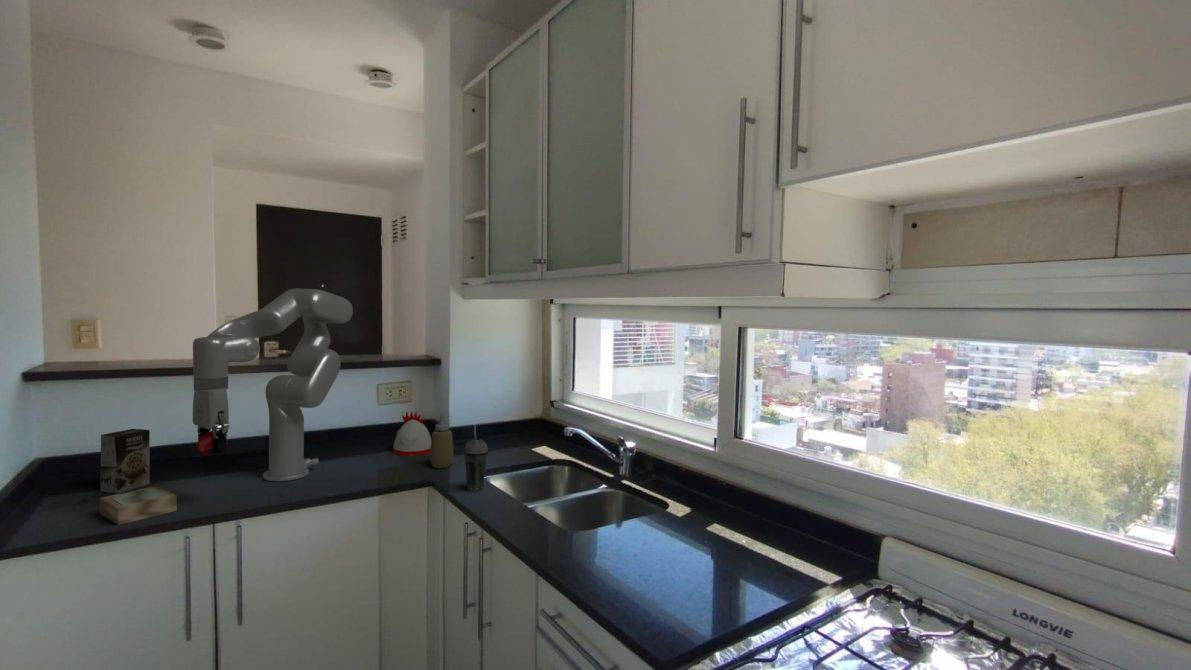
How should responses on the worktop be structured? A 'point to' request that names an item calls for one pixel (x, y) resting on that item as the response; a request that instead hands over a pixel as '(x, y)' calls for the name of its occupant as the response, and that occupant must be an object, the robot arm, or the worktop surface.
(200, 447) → the red bell pepper
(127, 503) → the pedestal
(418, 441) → the kitchen timer
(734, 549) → the worktop surface
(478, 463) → the beverage cup
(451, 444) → the squeeze bottle
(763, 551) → the worktop surface
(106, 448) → the coffee box
